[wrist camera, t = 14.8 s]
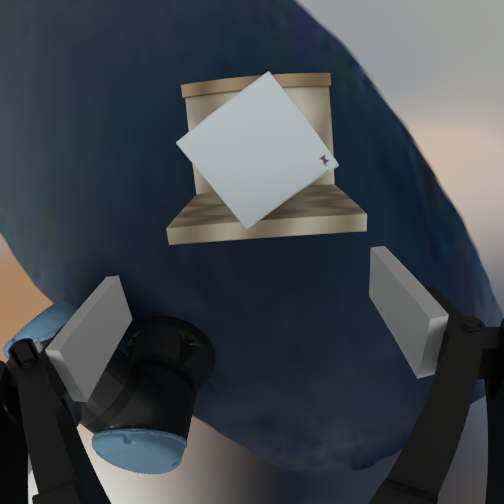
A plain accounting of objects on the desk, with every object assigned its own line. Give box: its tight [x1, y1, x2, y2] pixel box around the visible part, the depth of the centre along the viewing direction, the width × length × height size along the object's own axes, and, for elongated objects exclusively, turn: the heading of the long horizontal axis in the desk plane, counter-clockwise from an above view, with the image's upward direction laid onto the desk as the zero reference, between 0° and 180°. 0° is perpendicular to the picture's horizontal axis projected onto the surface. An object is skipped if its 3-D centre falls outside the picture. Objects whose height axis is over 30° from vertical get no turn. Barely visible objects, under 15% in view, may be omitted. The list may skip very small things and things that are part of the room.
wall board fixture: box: [166, 73, 367, 245], centre depth 32 cm, size 18×16×15 cm
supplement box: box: [176, 72, 339, 230], centre depth 31 cm, size 10×9×17 cm
